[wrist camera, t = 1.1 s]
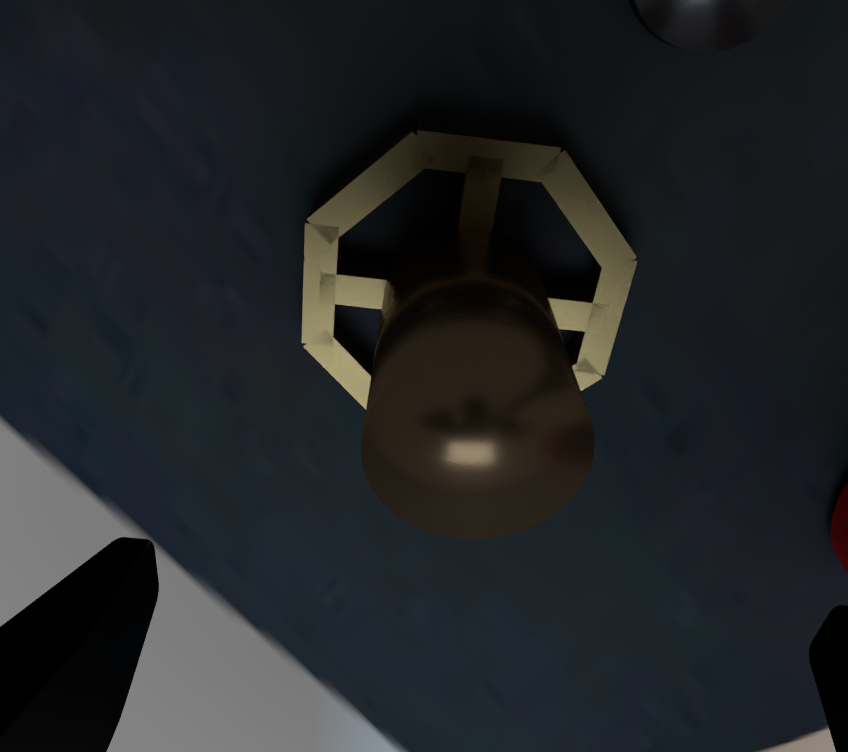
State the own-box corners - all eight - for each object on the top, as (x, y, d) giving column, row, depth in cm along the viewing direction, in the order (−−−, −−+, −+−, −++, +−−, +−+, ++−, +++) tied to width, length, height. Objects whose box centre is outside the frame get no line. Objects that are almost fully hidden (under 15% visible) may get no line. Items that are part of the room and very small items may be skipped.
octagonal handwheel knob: (656, 152, 16) (792, 262, 10) (578, 431, 20) (640, 629, 14) (313, 110, 16) (237, 197, 10) (304, 403, 20) (246, 594, 14)
